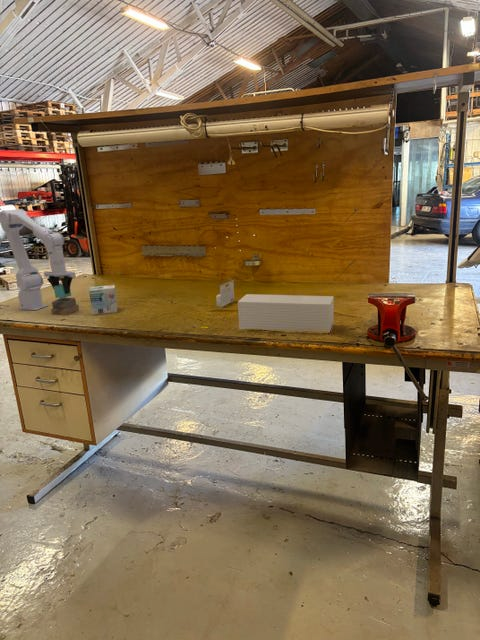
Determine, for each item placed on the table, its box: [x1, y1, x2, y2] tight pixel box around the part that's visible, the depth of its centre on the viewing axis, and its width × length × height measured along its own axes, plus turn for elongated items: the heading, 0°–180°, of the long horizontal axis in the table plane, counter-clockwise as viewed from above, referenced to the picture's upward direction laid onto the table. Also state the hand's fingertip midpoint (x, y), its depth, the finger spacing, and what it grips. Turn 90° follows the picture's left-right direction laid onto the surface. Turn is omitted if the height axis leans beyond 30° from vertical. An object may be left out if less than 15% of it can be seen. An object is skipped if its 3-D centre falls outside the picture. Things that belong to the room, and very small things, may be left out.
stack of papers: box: [237, 293, 335, 332], centre depth 160 cm, size 32×11×11 cm, turn 73°
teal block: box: [53, 283, 72, 299], centre depth 195 cm, size 5×5×5 cm
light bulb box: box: [88, 284, 119, 316], centre depth 193 cm, size 11×7×11 cm, turn 105°
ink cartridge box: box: [215, 279, 236, 308], centre depth 195 cm, size 2×11×10 cm, turn 149°
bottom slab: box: [50, 303, 80, 316], centre depth 197 cm, size 8×8×3 cm
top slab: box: [51, 297, 77, 309], centre depth 196 cm, size 7×7×3 cm
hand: (62, 293), depth 195 cm, fingers closed on teal block, 4 cm apart
